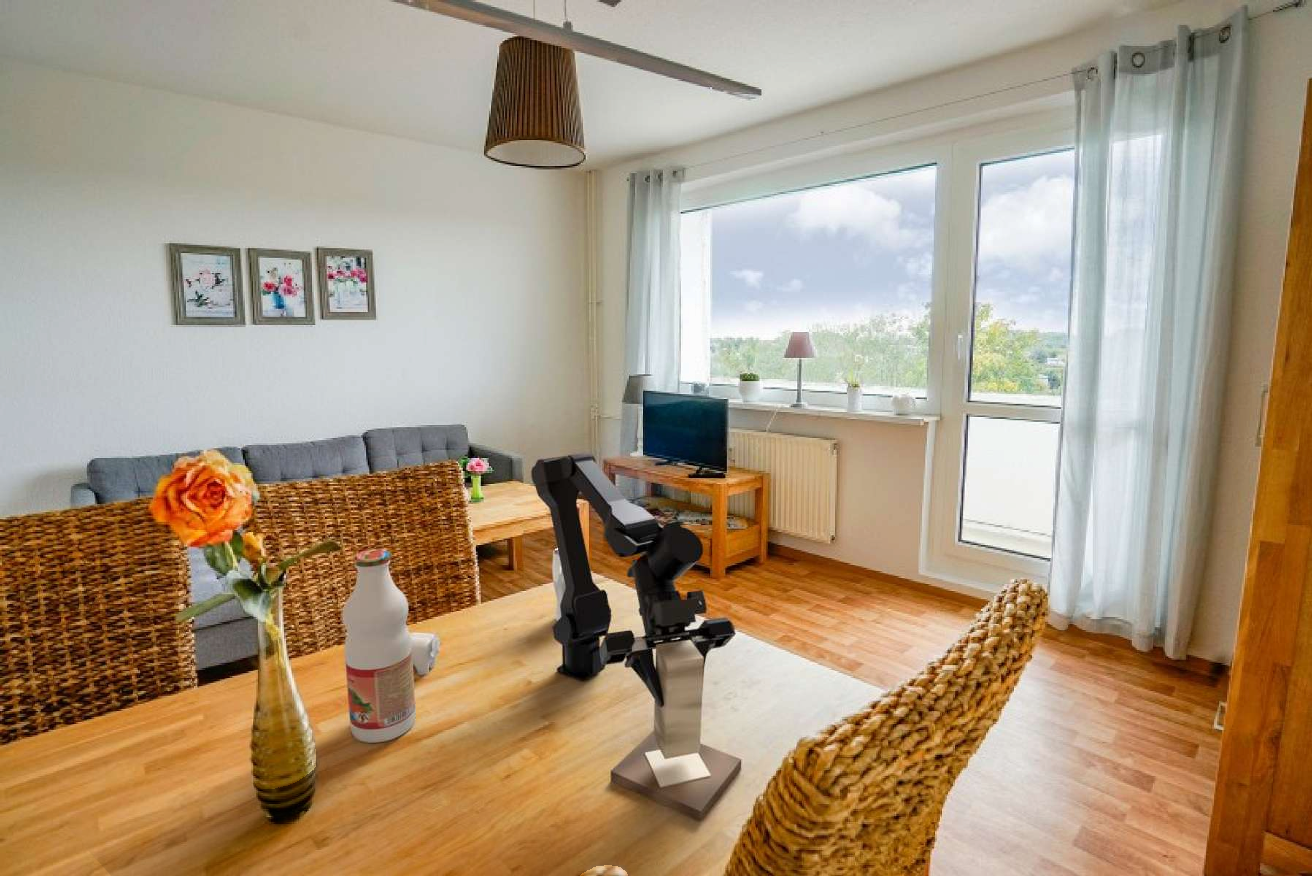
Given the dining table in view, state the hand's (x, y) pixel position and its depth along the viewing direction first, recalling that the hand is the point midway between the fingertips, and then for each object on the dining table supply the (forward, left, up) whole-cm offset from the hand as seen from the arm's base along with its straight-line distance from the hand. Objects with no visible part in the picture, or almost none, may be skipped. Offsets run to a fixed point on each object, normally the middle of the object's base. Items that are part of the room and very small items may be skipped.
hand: (681, 703), depth 89 cm
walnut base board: (-1, +1, -12) cm, 12 cm away
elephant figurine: (-55, +1, -12) cm, 56 cm away
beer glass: (-45, +31, -12) cm, 56 cm away
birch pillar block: (-1, +1, -7) cm, 7 cm away
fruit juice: (-45, -14, -12) cm, 49 cm away
